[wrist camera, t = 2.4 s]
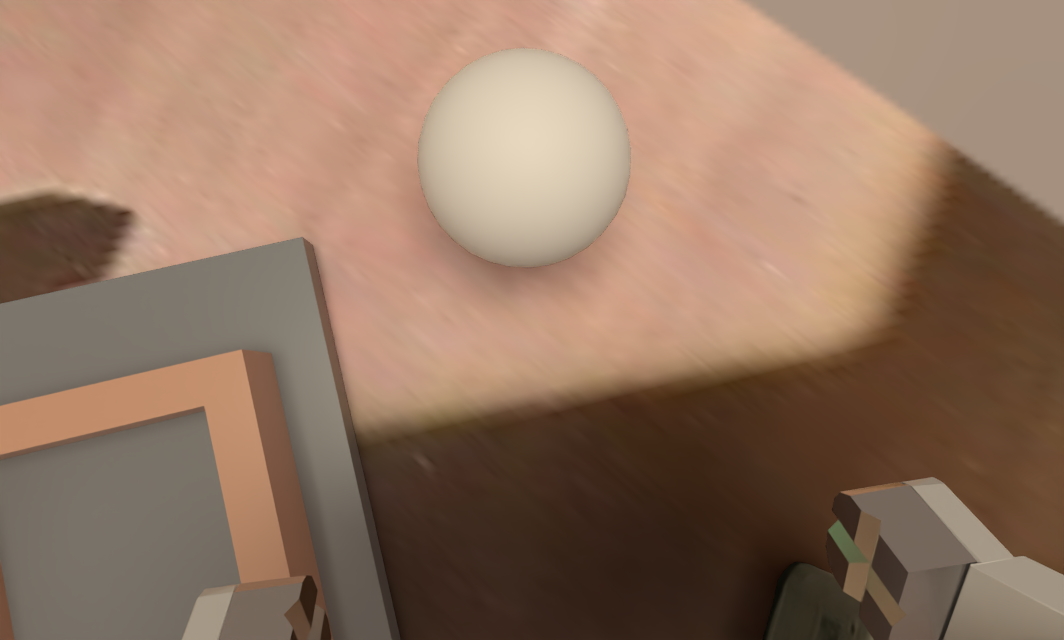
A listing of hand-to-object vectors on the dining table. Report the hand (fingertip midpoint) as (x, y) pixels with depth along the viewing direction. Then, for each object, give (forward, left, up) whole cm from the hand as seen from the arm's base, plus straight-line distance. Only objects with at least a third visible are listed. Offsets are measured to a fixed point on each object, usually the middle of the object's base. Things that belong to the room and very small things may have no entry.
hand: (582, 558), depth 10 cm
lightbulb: (+9, -2, -16) cm, 19 cm away
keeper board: (0, +14, -16) cm, 22 cm away
